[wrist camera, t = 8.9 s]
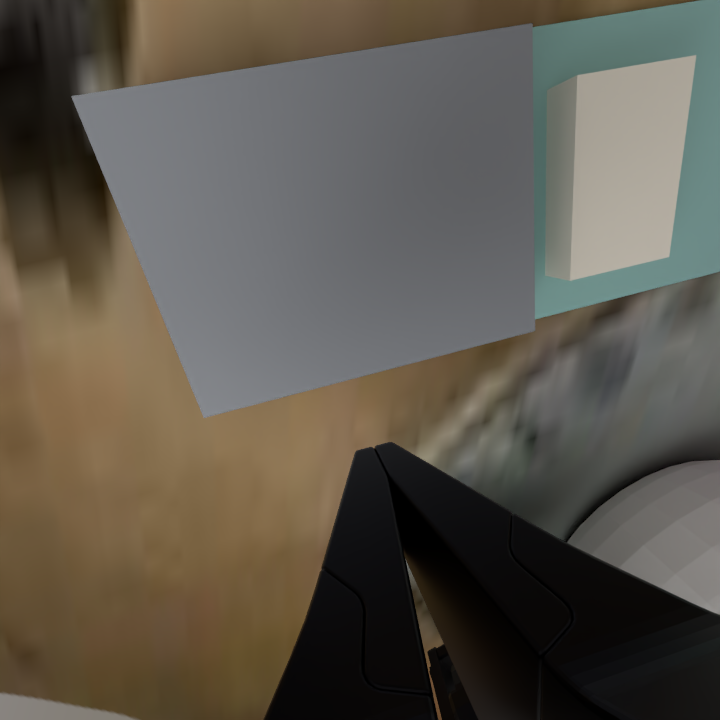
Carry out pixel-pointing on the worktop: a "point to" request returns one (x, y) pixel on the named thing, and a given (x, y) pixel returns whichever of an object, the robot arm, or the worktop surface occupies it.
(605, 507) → the pot
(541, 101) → the mat
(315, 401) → the worktop surface
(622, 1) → the worktop surface
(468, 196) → the deck
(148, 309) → the worktop surface
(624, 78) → the block
